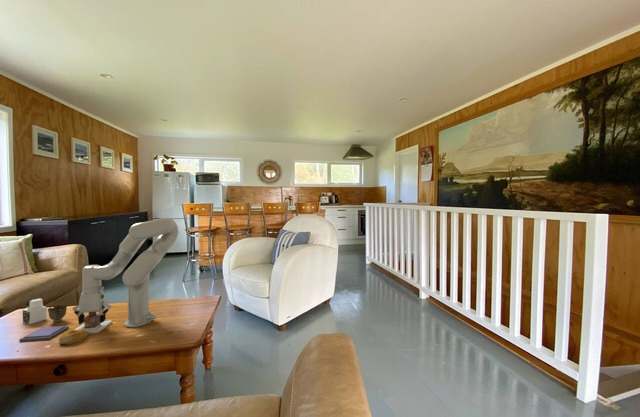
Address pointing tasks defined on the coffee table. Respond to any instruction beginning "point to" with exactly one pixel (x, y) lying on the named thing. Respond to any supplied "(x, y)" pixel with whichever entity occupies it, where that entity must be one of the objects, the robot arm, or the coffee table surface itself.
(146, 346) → the coffee table surface
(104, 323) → the board
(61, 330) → the ink pad
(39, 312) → the medicine bottle
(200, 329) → the coffee table surface
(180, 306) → the coffee table surface
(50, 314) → the cup
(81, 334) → the bagel
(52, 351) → the coffee table surface
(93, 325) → the stamp
